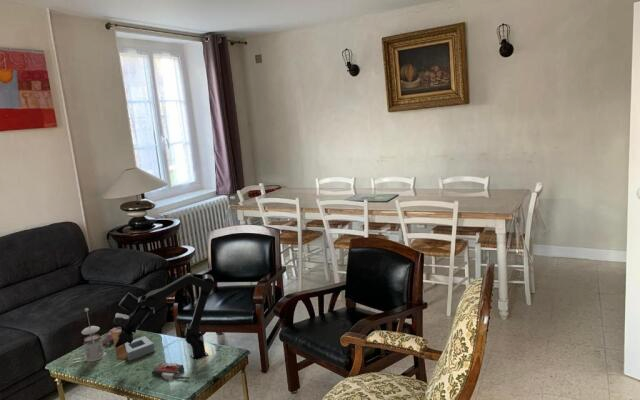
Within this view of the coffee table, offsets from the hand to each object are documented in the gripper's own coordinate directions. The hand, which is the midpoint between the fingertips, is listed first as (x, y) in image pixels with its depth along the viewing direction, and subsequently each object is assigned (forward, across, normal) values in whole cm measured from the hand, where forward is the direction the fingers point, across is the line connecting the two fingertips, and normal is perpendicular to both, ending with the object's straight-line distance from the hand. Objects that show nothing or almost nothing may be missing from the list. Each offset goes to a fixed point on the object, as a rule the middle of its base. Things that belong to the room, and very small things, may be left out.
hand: (116, 344), depth 213 cm
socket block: (+6, -18, +14) cm, 23 cm away
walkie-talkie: (-6, +12, +26) cm, 30 cm away
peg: (+4, 0, +6) cm, 7 cm away
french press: (+20, -24, -1) cm, 31 cm away
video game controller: (+16, -39, +3) cm, 42 cm away
